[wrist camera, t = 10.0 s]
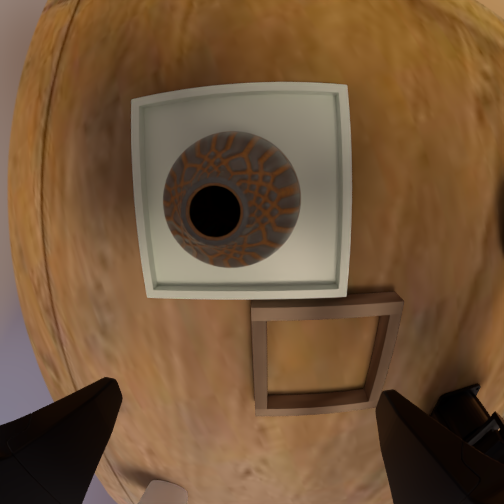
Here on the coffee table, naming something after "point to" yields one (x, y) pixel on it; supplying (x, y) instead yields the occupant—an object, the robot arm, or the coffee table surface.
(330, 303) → the holder
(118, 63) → the coffee table surface
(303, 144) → the tray
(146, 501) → the foam cup
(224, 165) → the vase
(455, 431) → the robot arm
